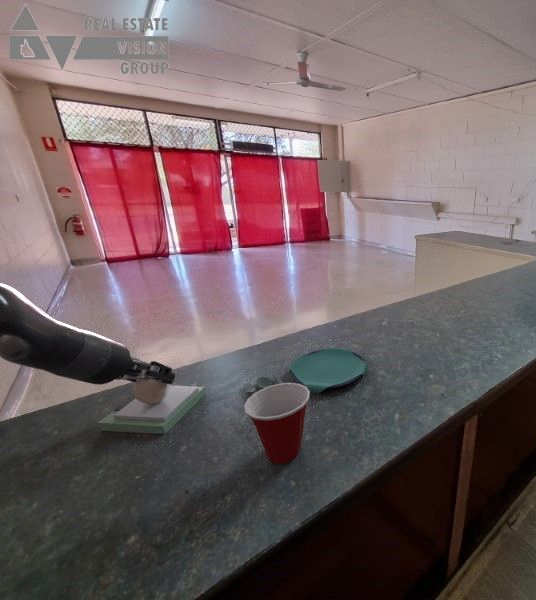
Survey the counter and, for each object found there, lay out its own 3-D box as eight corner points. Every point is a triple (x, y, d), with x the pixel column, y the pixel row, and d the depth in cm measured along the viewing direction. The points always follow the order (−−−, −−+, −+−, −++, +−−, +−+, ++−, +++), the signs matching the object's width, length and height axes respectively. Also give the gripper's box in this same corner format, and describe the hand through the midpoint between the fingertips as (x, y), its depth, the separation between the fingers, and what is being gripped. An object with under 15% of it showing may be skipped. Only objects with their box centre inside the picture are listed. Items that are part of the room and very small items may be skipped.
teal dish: (380, 376, 84) (381, 368, 83) (264, 424, 65) (263, 415, 65) (342, 348, 98) (342, 341, 97) (238, 380, 80) (237, 373, 79)
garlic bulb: (178, 390, 71) (171, 358, 68) (163, 408, 65) (155, 374, 62) (145, 392, 70) (137, 360, 67) (127, 411, 64) (117, 377, 61)
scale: (100, 430, 62) (96, 419, 61) (151, 391, 74) (148, 381, 74) (165, 434, 62) (162, 422, 61) (205, 394, 74) (203, 384, 73)
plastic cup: (296, 422, 66) (292, 373, 62) (324, 452, 59) (321, 398, 55) (242, 449, 59) (234, 395, 55) (267, 487, 52) (259, 427, 48)
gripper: (138, 337, 54) (195, 362, 69) (55, 333, 54) (130, 359, 69) (118, 381, 51) (183, 398, 66) (31, 377, 51) (115, 394, 66)
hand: (155, 378), depth 67 cm, fingers closed on garlic bulb, 6 cm apart
